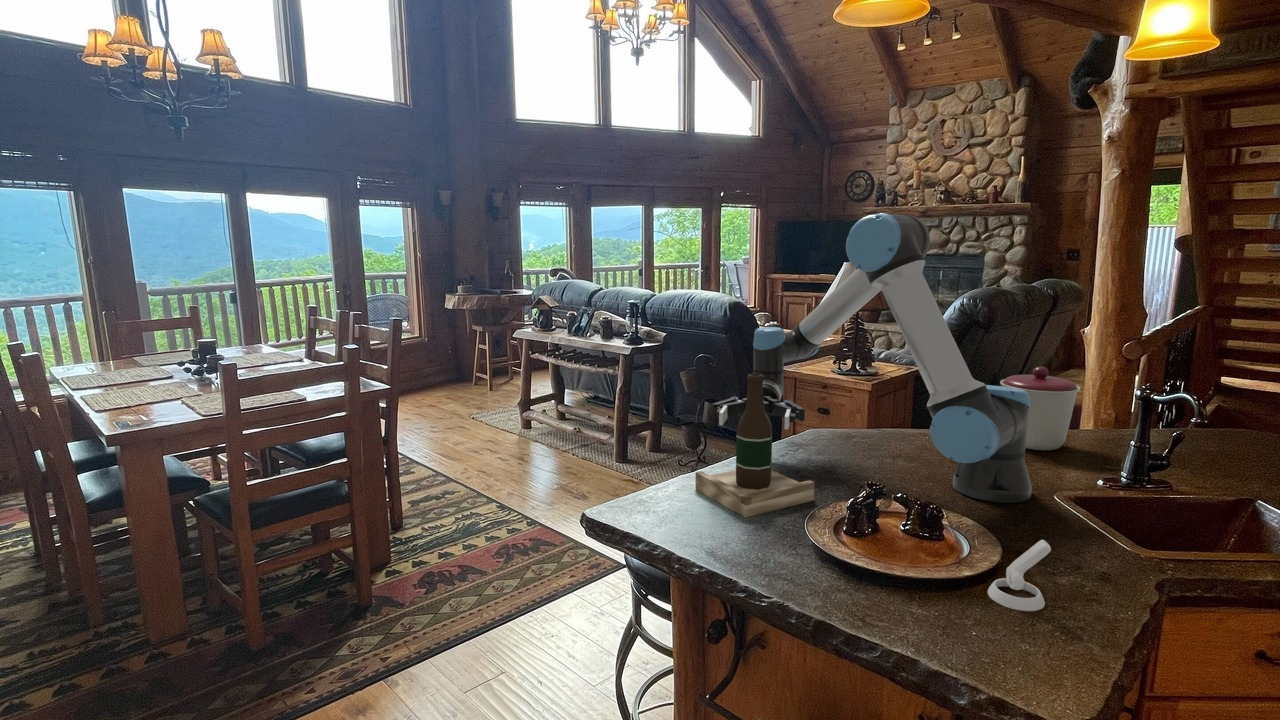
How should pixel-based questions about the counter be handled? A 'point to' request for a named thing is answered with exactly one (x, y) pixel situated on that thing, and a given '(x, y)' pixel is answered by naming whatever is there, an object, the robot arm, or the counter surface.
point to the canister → (1046, 407)
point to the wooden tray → (754, 493)
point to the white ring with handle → (1021, 581)
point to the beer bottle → (754, 439)
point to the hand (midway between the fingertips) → (753, 421)
